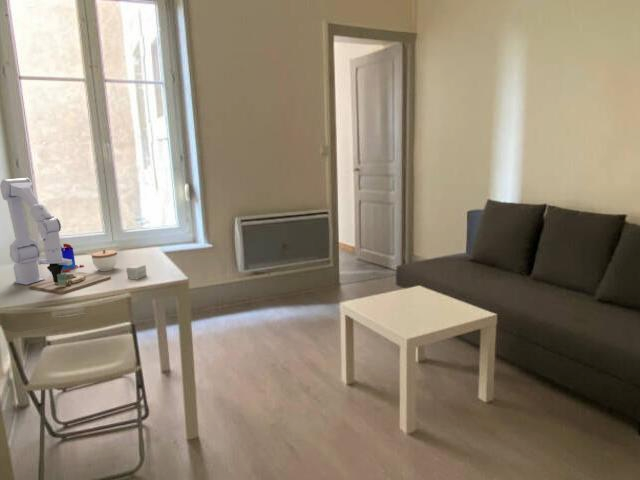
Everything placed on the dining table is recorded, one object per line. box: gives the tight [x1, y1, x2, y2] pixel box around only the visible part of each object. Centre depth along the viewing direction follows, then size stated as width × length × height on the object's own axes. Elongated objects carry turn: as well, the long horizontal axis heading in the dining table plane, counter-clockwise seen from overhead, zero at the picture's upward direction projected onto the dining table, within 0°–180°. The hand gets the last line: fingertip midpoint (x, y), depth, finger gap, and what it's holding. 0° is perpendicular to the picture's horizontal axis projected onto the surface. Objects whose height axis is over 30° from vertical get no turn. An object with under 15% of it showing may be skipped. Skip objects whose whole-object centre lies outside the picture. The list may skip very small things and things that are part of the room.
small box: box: [125, 264, 148, 280], centre depth 196 cm, size 6×6×5 cm
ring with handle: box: [56, 272, 86, 287], centre depth 189 cm, size 15×11×5 cm
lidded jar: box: [90, 249, 118, 272], centre depth 211 cm, size 11×11×9 cm
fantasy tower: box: [61, 243, 85, 273], centre depth 215 cm, size 12×12×12 cm
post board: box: [27, 271, 112, 295], centre depth 191 cm, size 22×22×4 cm
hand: (58, 281), depth 184 cm, fingers closed, pressing on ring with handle
